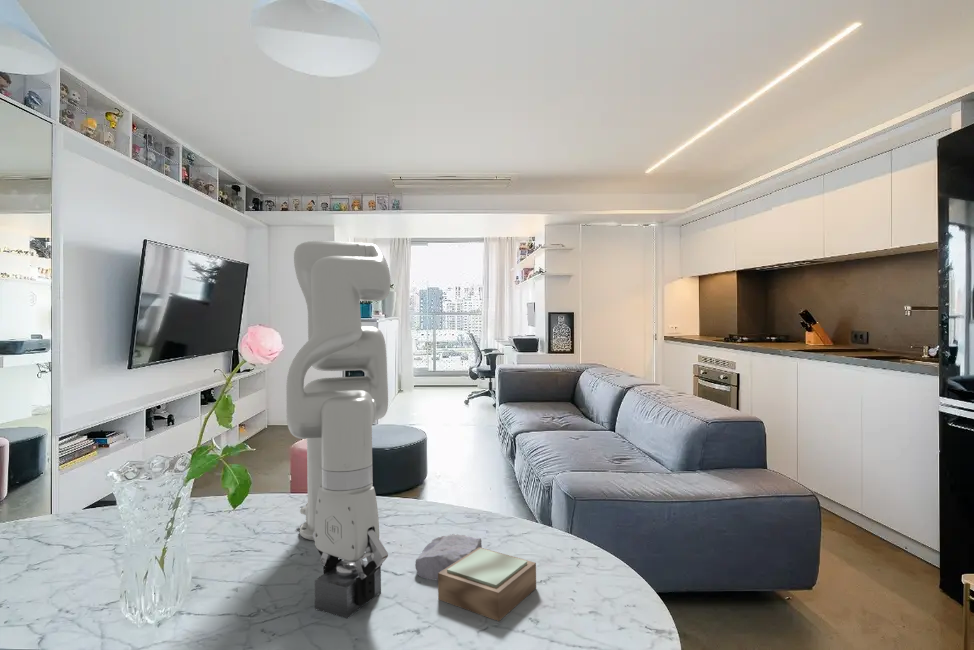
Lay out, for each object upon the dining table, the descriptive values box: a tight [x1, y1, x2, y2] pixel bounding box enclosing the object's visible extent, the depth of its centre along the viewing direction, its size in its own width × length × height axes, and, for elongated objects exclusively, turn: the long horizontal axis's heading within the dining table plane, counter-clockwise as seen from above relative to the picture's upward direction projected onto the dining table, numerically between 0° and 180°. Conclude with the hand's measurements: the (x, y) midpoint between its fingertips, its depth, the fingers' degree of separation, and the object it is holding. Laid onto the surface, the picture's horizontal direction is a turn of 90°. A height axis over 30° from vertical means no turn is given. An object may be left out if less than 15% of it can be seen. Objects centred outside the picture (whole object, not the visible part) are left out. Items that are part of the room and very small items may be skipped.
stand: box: [437, 547, 537, 622], centre depth 79 cm, size 11×11×4 cm
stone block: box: [415, 533, 483, 581], centre depth 90 cm, size 12×5×10 cm
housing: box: [314, 559, 382, 619], centre depth 78 cm, size 6×8×6 cm
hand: (349, 593), depth 78 cm, fingers closed on housing, 6 cm apart
